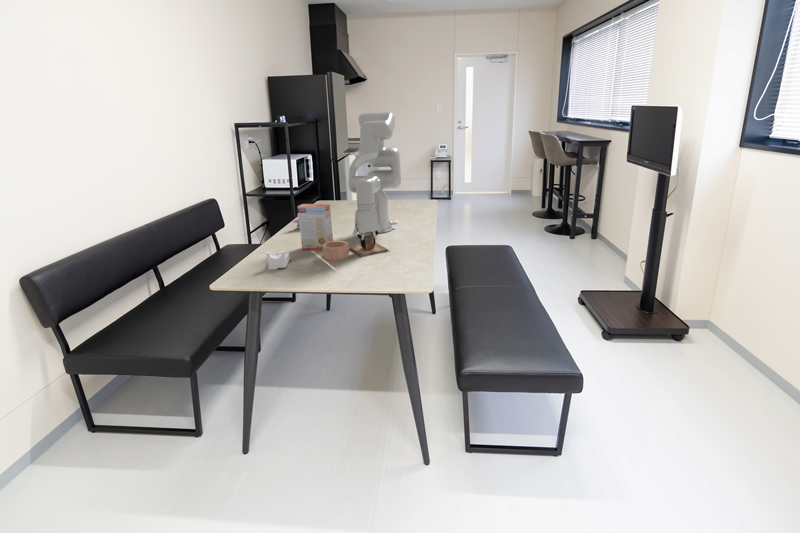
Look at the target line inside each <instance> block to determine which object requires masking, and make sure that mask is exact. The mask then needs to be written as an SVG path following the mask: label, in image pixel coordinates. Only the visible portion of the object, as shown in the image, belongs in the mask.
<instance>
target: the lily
mask: <svg viewBox="0 0 800 533" xmlns="http://www.w3.org/2000/svg"><path fill="white" fill-rule="evenodd" d="M292 223H296V224H297V225H296V229H298V228H299V229H300V225H299V216H298V213H297V219H295V220H293V221H292Z"/></svg>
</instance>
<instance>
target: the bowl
mask: <svg viewBox="0 0 800 533" xmlns="http://www.w3.org/2000/svg"><path fill="white" fill-rule="evenodd" d="M349 249H350V246H349V242H347V241H344V240H333V241H332V242H327V243H325V244H323V250H322V253H323V254H322V255H323V259H325V260H326V261H340V260H341V261H342V260H345V259H347V258H349V257H350V251H349Z"/></svg>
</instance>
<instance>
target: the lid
mask: <svg viewBox="0 0 800 533" xmlns="http://www.w3.org/2000/svg"><path fill="white" fill-rule="evenodd" d="M364 240H365V246H366V248H363V247H362V246H361V244H359V245H354V246H349V249H350V250H352V251H354V252H355V253H357V254H358V255H360V256H365V257H367V256H366V255H370V256H372V255H371V254H375V255H377V254H376V253H380V254H382V253H381V252H386V251H388V250H389V249H388V248H387V247H385V246H383V245H381V244H379V243H378V242H375V243H376V244H375V247H374V237H373V236H371V234H366V235H364ZM386 253H387V252H386Z"/></svg>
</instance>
